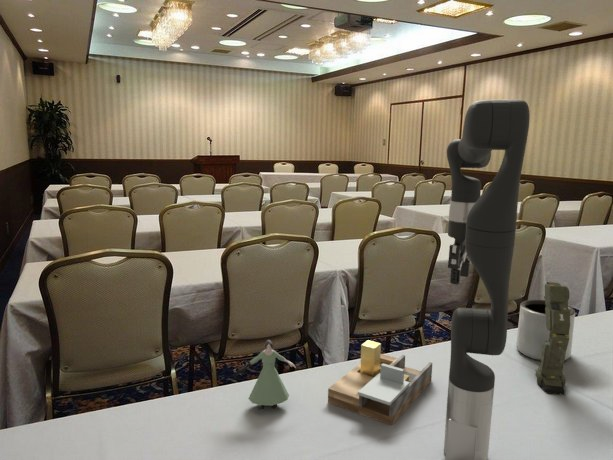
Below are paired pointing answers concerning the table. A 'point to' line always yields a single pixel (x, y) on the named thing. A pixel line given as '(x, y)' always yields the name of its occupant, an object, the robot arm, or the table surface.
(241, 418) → the table surface
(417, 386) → the board
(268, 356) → the character figurine
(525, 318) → the planter
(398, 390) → the lid
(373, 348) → the pin
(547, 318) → the mechanical leg
